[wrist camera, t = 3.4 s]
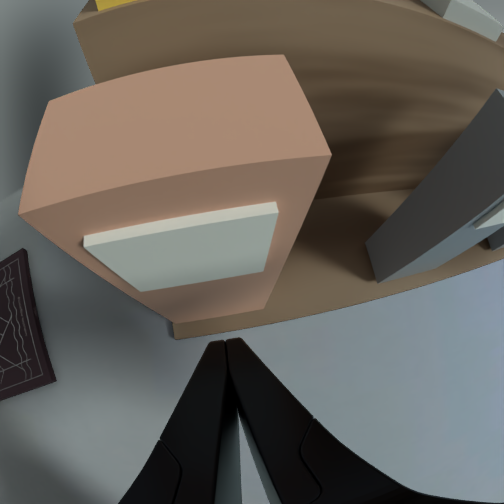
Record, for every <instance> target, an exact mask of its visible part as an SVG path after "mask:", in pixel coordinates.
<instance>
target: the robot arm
mask: <svg viewBox="0 0 504 504" xmlns="http://www.w3.org/2000/svg"><path fill="white" fill-rule="evenodd" d="M237 409H238V410H237ZM238 413H239V417H240V421H241V424H242V427H243V430H244V433H245V436H246V439H247V442H248V445H249V448H250V451H251V454H252V456H253V459H254V462H255V465H256V468H257V470H258V473H259V476H260V479H261V481H262V484H263V487H264V489H265V492H266V495H267V497H268V500H269V502H270V504H504V503H488V502H476V501H466V500H458V499H451V498H444V497H438V496H433V495H428V494H423V493H420V492H417V491H414V490H412V489H409V488H407V487H405V486H403V485H402V484H400V483H398V482H397V481H395V480H393V479H392V478H390V477H389V476H387V475H386V474H384V473H383V472H381V471H380V470H378V469H377V468H375V467H374V466H372V465H371V464H369V463H368V462H366V461H365V460H364V459H362V458H361V457H359V456H358V455H357V454H355V453H354V452H353V451H351V450H350V449H349V448H347V447H346V446H345V445H344V444H342V443H341V442H340V441H339V440H338V439H336V438H335V437H334V436H333V435H332V434H331V433H330V432H329V431H328V430H327V429H326V428H325V427H324V426H323V425H322V424H321V423H320V422H319V421H318V420H317V419H315V418H314V419H313V415H312V414H311V413H310V412H309V411H308V410H307V409H306V408H305V407H304V406H303V405H302V404H301V403H300V402H299V401H298V400H297V399H296V398H295V397H294V396H293V395H292V393H291V392H290V391H289V390H288V389H287V388H286V387H285V386H284V385H283V384H282V383H281V382H280V381H279V380H278V378H277V377H276V376H275V375H274V374H273V373H272V372H271V371H270V370H269V369H268V367H267V366H266V365H265V364H264V363H263V362H262V361H261V360H260V359H259V357H258V356H257V355H256V354H255V353H254V352H253V351H252V349H251V348H250V347H249V346H248V345H247V344H246V343H245V341H244V340H243V339H242V338H240V337H238V338H232V339H227V340H226V343H225V341H224V340H218V341H211V342H210V343H209V344H208V346H207V348H206V349H205V351H204V353H203V355H202V357H201V359H200V361H199V363H198V365H197V367H196V369H195V371H194V373H193V375H192V377H191V378H190V380H189V382H188V384H187V386H186V388H185V390H184V392H183V394H182V396H181V398H180V400H179V402H178V404H177V405H176V407H175V409H174V411H173V413H172V415H171V417H170V419H169V421H168V423H167V425H166V427H165V429H164V430H163V432H162V434H161V436H160V440H158V442H157V444H156V445H155V447H154V449H153V451H152V453H151V455H150V457H149V458H148V460H147V462H146V464H145V465H144V467H143V469H142V470H141V472H140V473H139V475H138V476H137V478H136V479H135V481H134V482H133V484H132V485H131V487H130V488H129V489H128V491H127V492H126V494H125V495H124V496H123V498H122V499H121V500H120V502H119V503H118V504H242V493H241V470H240V444H239V419H238Z"/></svg>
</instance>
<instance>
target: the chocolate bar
mask: <svg viewBox="0 0 504 504" xmlns="http://www.w3.org/2000/svg"><path fill="white" fill-rule="evenodd" d="M56 381H57V380H56V377H55V374H54V371H53V368H52V365H51V362H50V359H49V356H48V352H47V349H46V345H45V342H44V338H43V334H42V330H41V326H40V322H39V318H38V313H37V309H36V304H35V299H34V294H33V288H32V282H31V276H30V270H29V263H28V255H27V251H26V250H25V249H23V248H22V249H21V250H19V251H17V252H16V253H14V254H13V255H11V256H9V257H8V258H6V259H5V260H3V261H2V262H0V401H1V400H4V399H7V398H10V397H13V396H16V395H19V394H22V393H25V392H28V391H30V390H33V389H36V388H39V387H42V386H45V385H47V384H50V383H53V382H56Z"/></svg>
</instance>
